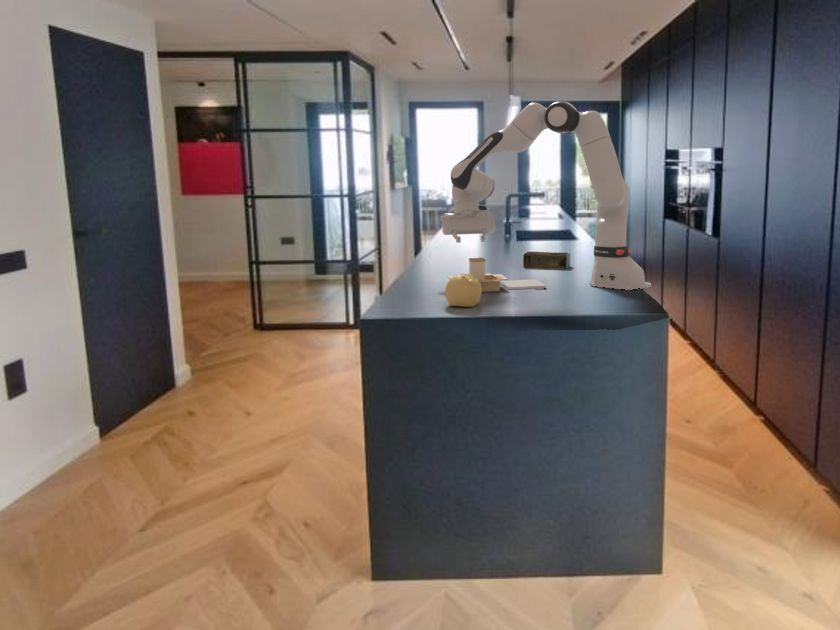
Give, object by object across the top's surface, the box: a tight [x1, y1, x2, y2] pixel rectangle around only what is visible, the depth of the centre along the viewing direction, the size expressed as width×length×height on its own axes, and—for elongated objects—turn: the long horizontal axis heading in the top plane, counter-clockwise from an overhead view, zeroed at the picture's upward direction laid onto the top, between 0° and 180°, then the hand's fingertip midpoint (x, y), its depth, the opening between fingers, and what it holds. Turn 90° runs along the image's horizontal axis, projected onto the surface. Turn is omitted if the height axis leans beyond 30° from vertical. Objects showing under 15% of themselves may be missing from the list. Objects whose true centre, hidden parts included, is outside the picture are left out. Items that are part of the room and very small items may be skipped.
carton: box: [447, 272, 509, 293], centre depth 273 cm, size 17×20×4 cm
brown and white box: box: [468, 257, 486, 280], centre depth 273 cm, size 5×5×11 cm
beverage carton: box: [522, 251, 571, 270], centre depth 324 cm, size 8×19×7 cm, turn 68°
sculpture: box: [444, 272, 483, 308], centre depth 245 cm, size 11×12×11 cm
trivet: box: [500, 278, 547, 290], centre depth 279 cm, size 14×14×1 cm
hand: (471, 241), depth 282 cm, fingers open, 8 cm apart
